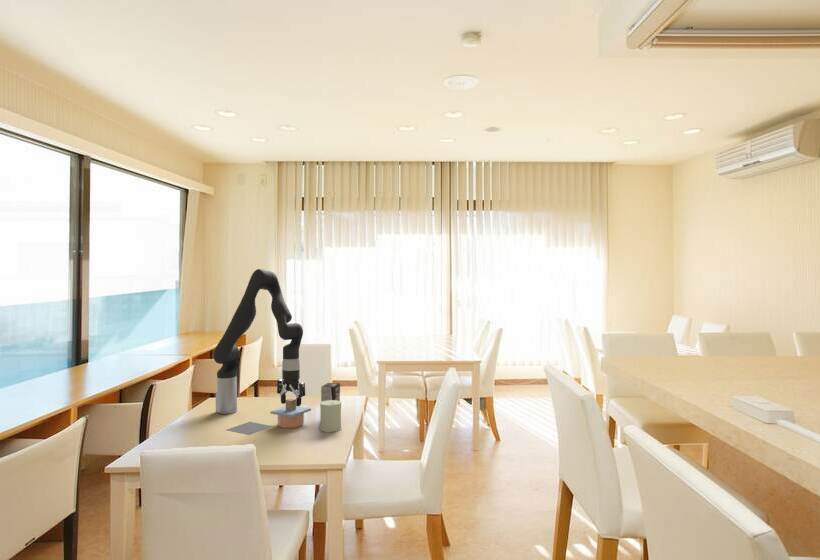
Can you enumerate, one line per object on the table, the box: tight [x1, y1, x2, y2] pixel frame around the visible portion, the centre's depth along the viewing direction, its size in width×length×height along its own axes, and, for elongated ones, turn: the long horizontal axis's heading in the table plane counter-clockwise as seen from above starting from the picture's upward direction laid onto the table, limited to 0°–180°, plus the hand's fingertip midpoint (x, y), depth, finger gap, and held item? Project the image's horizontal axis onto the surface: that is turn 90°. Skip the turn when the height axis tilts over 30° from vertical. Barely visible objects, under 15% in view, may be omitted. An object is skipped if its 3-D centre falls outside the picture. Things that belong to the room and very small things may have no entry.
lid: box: [269, 398, 312, 417], centre depth 229 cm, size 12×12×6 cm
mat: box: [226, 421, 273, 436], centre depth 224 cm, size 14×14×1 cm
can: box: [319, 400, 342, 433], centre depth 224 cm, size 9×9×12 cm
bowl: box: [277, 413, 305, 429], centre depth 229 cm, size 11×11×6 cm
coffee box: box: [320, 382, 341, 403], centre depth 239 cm, size 9×6×16 cm
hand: (291, 404), depth 229 cm, fingers open, 8 cm apart
